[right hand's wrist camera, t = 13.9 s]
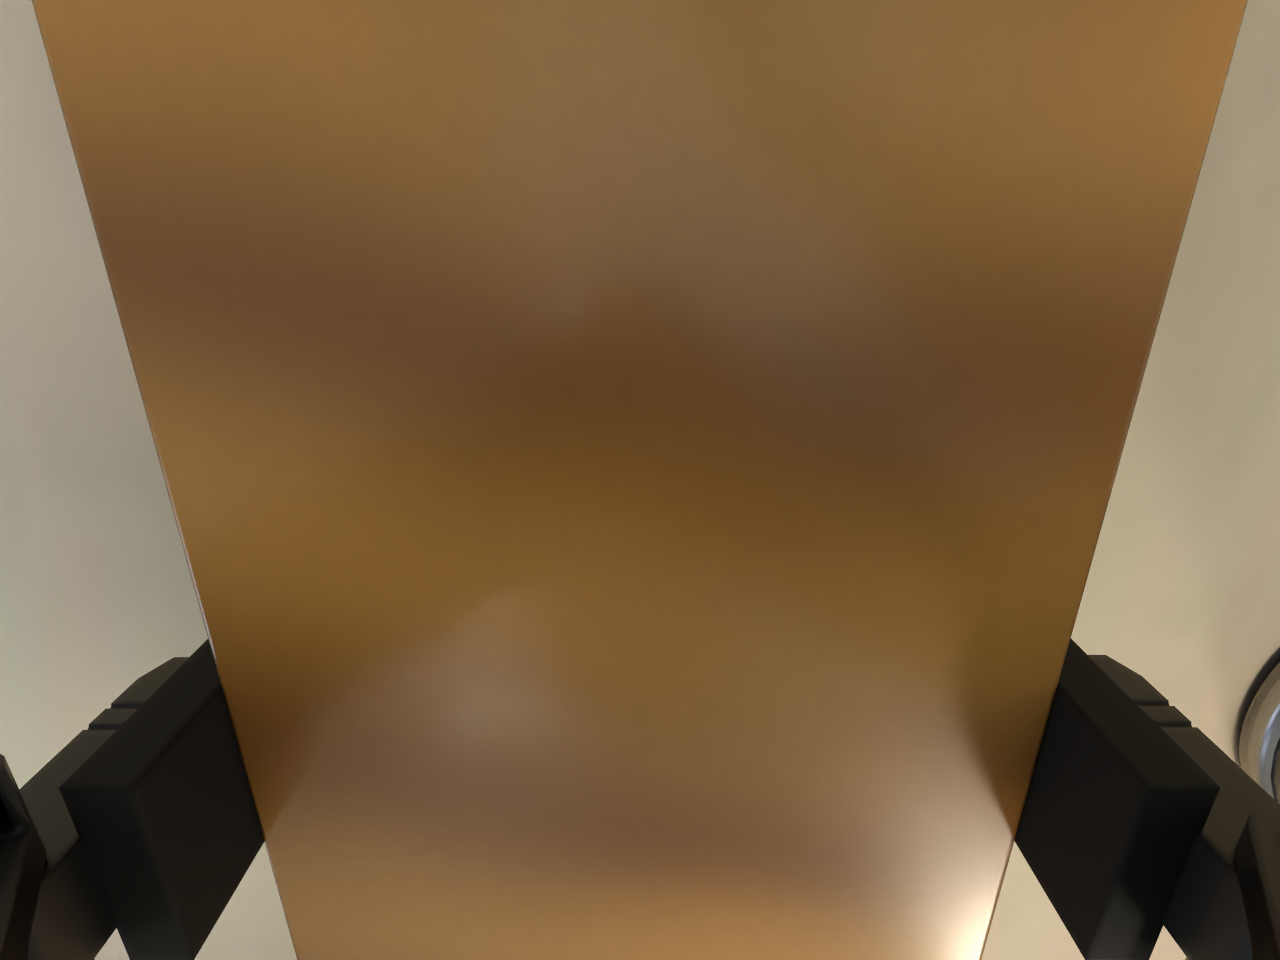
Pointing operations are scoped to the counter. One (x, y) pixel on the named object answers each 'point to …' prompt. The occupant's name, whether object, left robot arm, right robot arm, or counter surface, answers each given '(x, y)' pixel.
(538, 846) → the cabinet
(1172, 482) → the counter surface
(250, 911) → the counter surface
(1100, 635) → the counter surface
